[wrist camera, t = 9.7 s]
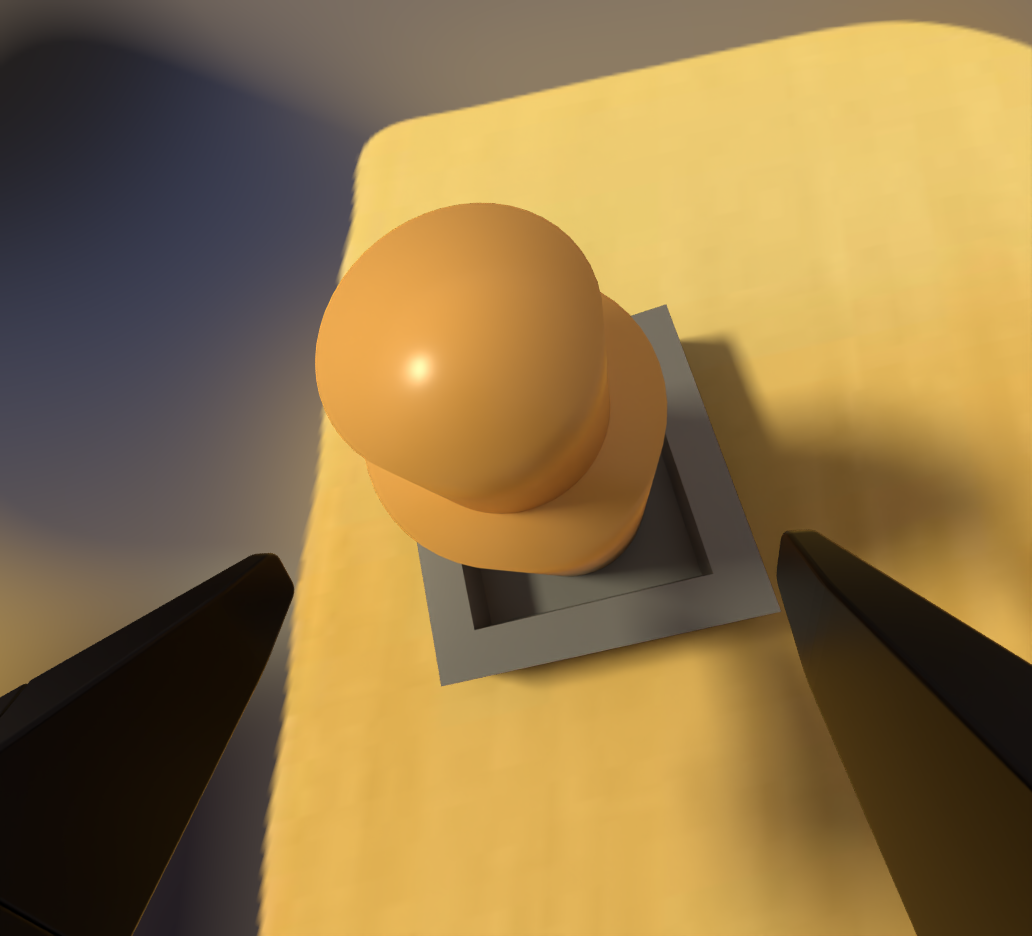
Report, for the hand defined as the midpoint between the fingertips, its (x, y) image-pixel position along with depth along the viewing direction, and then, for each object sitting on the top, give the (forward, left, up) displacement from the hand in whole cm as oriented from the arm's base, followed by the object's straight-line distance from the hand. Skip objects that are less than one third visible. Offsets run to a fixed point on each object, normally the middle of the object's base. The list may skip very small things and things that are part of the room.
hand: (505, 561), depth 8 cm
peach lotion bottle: (+3, -1, -10) cm, 10 cm away
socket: (+3, -1, -11) cm, 11 cm away
